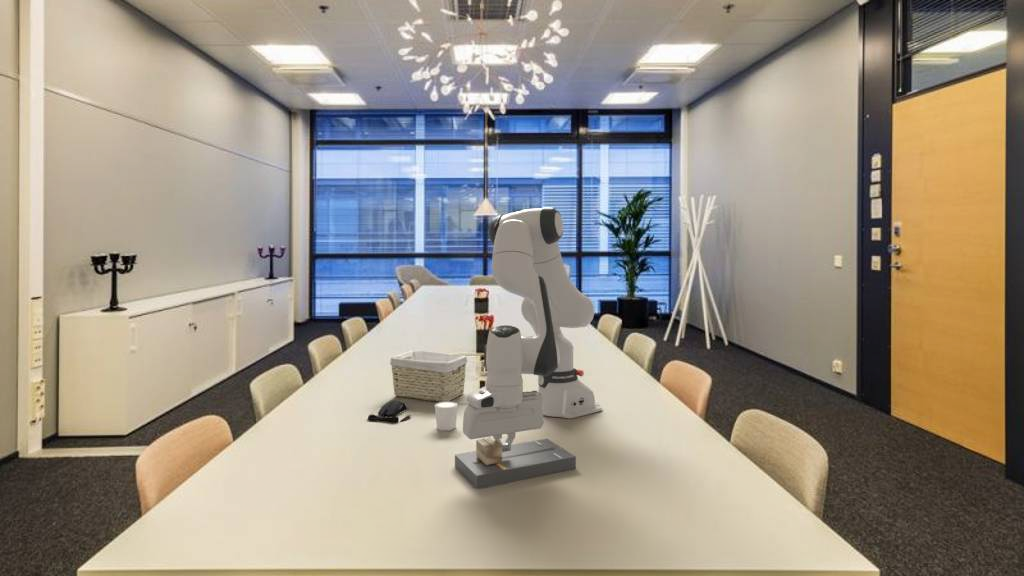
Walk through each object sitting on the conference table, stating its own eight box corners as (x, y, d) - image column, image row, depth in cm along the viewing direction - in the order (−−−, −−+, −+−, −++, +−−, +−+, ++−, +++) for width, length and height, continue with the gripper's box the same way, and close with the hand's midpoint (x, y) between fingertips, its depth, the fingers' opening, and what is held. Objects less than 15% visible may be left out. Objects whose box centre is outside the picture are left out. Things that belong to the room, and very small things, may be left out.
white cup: (453, 431, 161) (453, 408, 160) (431, 430, 162) (431, 406, 161) (460, 424, 167) (460, 401, 167) (439, 423, 169) (439, 400, 168)
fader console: (547, 449, 147) (547, 437, 146) (575, 468, 134) (575, 455, 134) (454, 466, 135) (454, 453, 135) (476, 488, 123) (476, 474, 122)
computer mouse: (426, 410, 183) (426, 398, 183) (398, 426, 167) (398, 413, 166) (394, 406, 187) (394, 395, 187) (364, 422, 171) (364, 409, 171)
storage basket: (469, 393, 203) (469, 354, 202) (447, 405, 188) (447, 362, 187) (413, 387, 212) (413, 349, 211) (388, 397, 197) (388, 357, 196)
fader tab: (491, 453, 135) (491, 436, 135) (501, 462, 130) (501, 444, 129) (476, 456, 133) (476, 439, 133) (486, 465, 128) (486, 447, 127)
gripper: (536, 386, 139) (535, 440, 140) (460, 396, 130) (460, 453, 131) (548, 392, 134) (548, 448, 135) (470, 402, 125) (470, 462, 126)
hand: (504, 450), depth 133 cm, fingers closed
